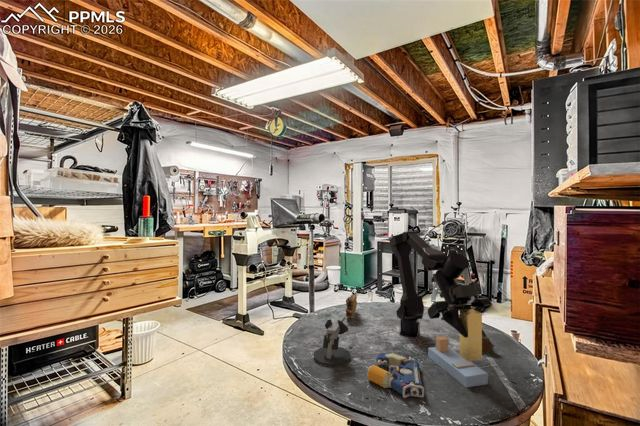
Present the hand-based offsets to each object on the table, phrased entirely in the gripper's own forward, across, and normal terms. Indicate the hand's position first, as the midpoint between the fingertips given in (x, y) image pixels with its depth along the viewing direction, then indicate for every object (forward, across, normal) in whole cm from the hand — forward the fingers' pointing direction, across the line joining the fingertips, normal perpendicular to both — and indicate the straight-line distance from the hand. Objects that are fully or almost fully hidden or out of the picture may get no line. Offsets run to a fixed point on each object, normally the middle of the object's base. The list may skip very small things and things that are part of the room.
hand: (474, 336), depth 85 cm
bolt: (-5, +21, +25) cm, 33 cm away
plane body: (+4, 0, +15) cm, 15 cm away
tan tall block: (+4, 0, +6) cm, 7 cm away
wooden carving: (-32, -16, +52) cm, 63 cm away
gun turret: (-9, -33, +29) cm, 45 cm away
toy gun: (+4, -20, +16) cm, 26 cm away
